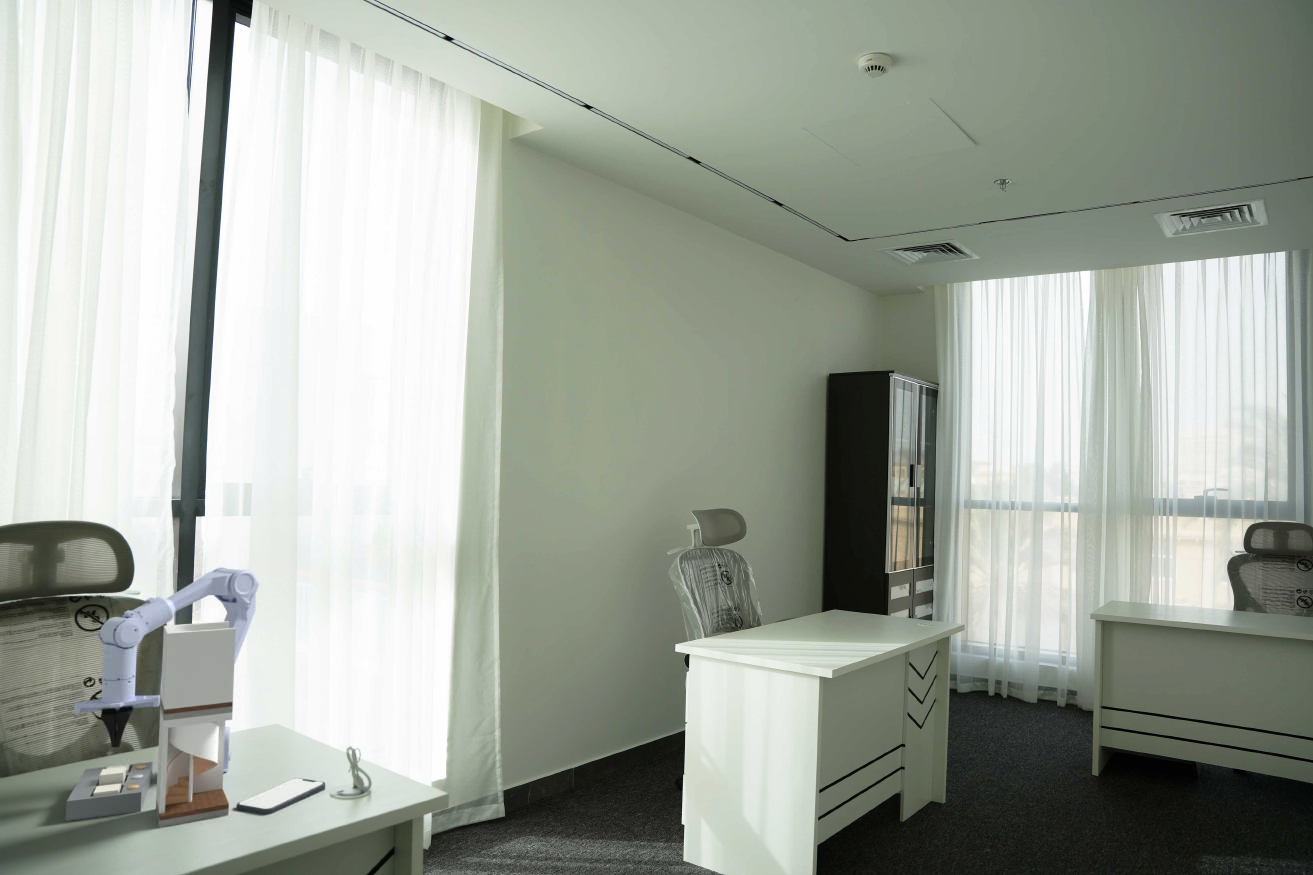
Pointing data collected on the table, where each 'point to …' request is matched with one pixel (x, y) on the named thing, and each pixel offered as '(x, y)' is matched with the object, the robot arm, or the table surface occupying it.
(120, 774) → the middle button
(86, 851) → the table surface
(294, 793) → the smartphone
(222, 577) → the robot arm
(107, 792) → the button
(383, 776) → the table surface
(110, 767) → the button
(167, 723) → the spiral staircase model
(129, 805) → the button board
